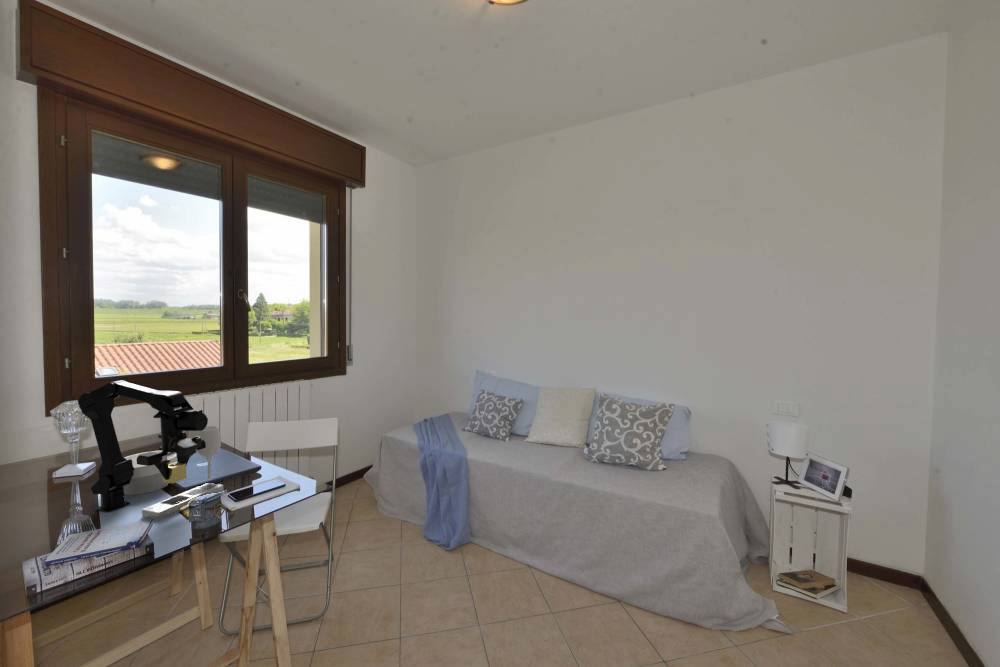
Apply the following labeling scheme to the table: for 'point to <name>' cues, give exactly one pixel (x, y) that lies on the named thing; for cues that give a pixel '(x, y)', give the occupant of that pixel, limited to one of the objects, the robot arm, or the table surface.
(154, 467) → the bowl
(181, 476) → the nut block
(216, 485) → the rail
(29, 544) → the table surface
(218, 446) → the wineglass
